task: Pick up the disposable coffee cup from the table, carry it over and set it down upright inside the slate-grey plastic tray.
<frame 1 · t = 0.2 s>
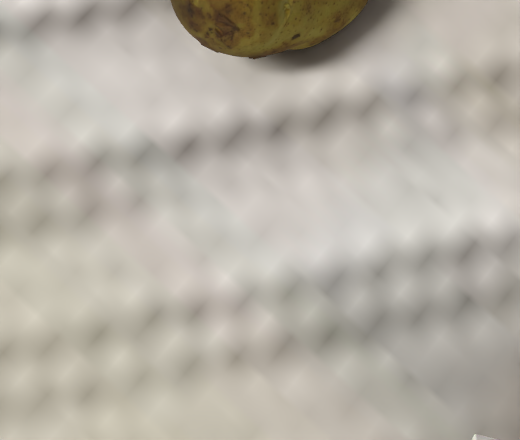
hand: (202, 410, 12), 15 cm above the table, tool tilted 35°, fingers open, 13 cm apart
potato: (283, 21, 32), on the table
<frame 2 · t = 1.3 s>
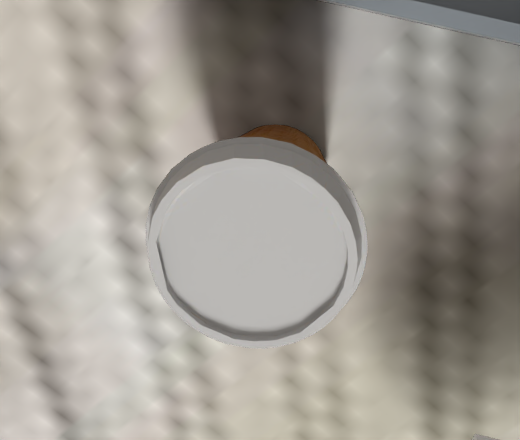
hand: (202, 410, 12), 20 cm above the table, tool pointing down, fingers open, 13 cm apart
disposable coffee cup: (275, 173, 31), on the table
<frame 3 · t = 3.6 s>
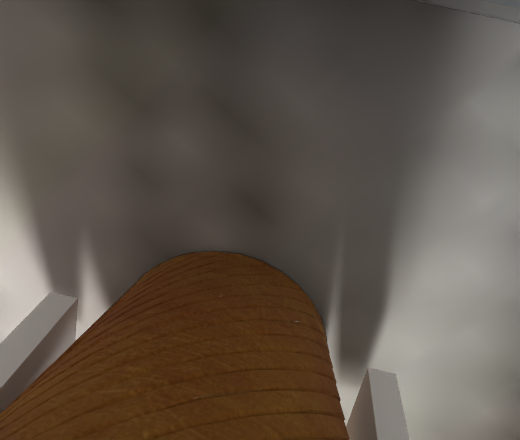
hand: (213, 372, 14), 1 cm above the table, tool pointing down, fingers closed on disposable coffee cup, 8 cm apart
disposable coffee cup: (222, 340, 15), on the table, touching gripper
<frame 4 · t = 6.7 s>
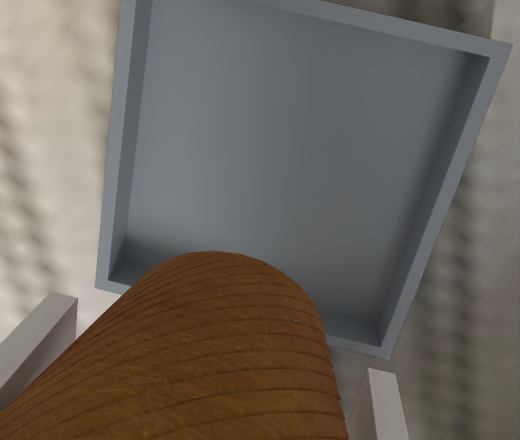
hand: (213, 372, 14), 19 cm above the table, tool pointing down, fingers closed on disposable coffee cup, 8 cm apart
disposable coffee cup: (222, 339, 15), point 18 cm above the table, touching gripper
tray: (278, 166, 31), on the table
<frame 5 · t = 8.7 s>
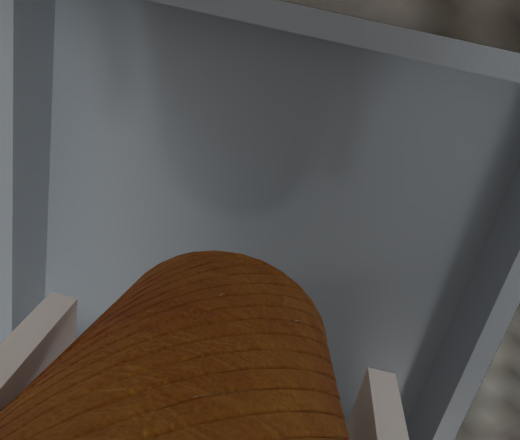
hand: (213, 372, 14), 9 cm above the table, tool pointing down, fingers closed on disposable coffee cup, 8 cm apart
disposable coffee cup: (222, 339, 15), point 7 cm above the table, touching gripper
tray: (253, 244, 22), on the table
when the fingers open (4 cm above the table, at t = 10.1 s): disposable coffee cup drops 1 cm, point 1 cm above the table.
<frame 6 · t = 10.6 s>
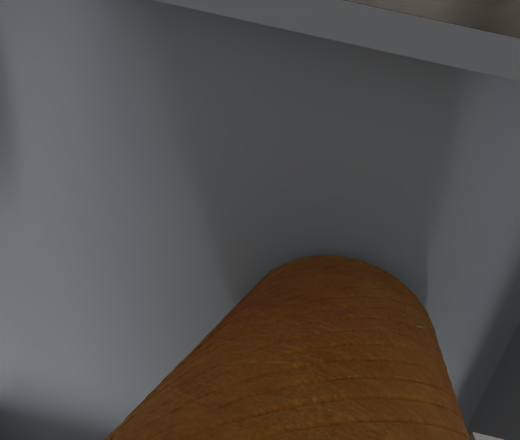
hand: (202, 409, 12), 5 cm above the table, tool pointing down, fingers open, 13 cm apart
disposable coffee cup: (334, 340, 16), point 1 cm above the table, touching gripper
tray: (235, 295, 17), on the table
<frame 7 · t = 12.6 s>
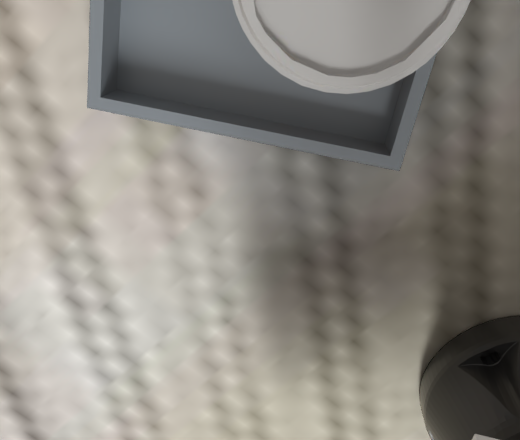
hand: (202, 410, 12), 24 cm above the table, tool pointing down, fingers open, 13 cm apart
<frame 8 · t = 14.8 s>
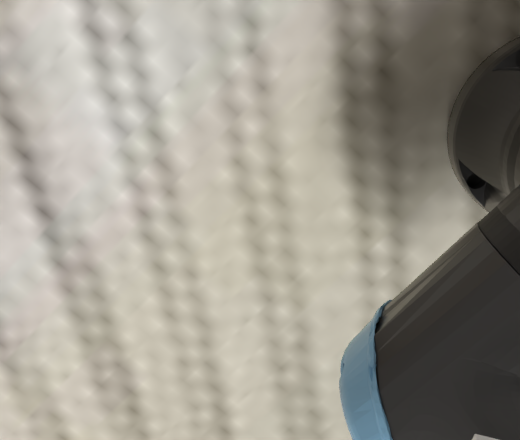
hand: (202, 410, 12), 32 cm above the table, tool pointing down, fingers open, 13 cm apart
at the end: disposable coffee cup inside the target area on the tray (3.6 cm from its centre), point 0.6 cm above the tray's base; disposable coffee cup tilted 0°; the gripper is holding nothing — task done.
